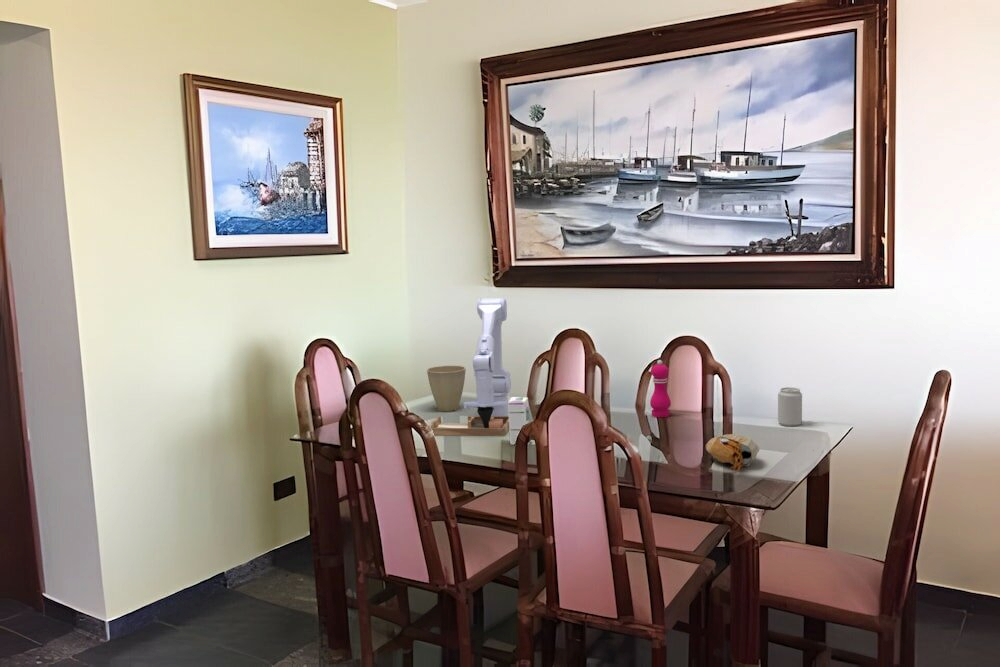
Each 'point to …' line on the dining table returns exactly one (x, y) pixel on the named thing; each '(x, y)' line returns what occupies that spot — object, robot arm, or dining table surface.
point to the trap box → (469, 427)
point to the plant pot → (447, 386)
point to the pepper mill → (660, 391)
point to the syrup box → (517, 415)
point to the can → (790, 406)
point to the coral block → (496, 423)
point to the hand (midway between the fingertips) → (486, 428)
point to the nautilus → (733, 449)
